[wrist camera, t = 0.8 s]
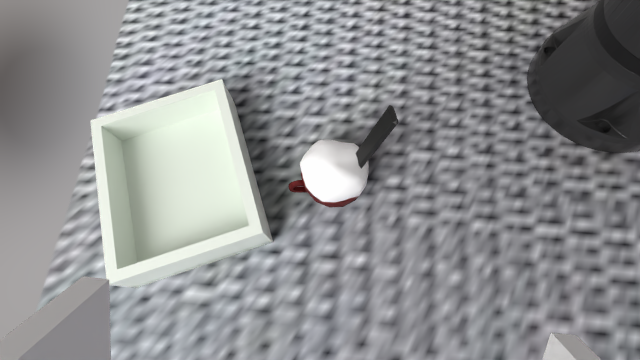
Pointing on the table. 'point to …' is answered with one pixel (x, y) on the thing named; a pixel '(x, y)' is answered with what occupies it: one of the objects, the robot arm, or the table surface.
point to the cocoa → (341, 165)
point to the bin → (175, 186)
